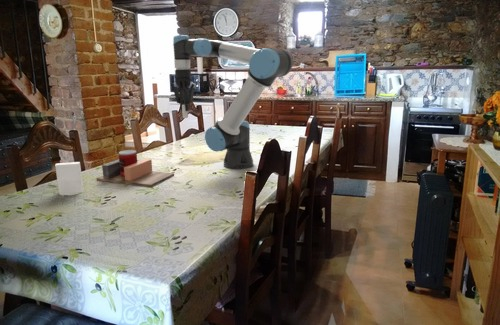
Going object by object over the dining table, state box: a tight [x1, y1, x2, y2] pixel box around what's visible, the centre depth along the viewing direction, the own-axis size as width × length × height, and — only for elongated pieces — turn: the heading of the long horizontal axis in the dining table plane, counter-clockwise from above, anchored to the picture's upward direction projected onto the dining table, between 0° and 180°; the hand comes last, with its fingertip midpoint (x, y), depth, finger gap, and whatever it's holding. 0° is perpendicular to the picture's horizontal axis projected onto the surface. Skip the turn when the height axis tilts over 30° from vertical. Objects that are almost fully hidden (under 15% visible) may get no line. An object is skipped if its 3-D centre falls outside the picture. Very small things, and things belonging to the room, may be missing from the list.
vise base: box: [96, 159, 175, 188], centre depth 170 cm, size 29×18×7 cm, turn 70°
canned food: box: [118, 149, 138, 177], centre depth 170 cm, size 8×8×11 cm
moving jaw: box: [124, 158, 153, 181], centre depth 169 cm, size 3×16×6 cm, turn 160°
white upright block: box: [54, 161, 84, 196], centre depth 151 cm, size 9×9×12 cm
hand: (185, 117), depth 186 cm, fingers closed
